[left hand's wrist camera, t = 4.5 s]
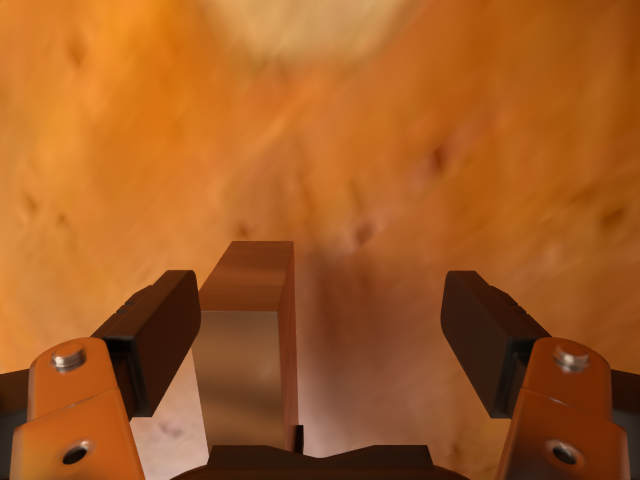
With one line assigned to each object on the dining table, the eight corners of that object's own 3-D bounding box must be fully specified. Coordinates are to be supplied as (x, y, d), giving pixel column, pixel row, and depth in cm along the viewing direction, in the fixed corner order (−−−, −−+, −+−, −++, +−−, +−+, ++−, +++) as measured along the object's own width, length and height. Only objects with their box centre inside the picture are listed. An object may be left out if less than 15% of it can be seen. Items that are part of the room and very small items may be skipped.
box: (232, 240, 33) (184, 310, 22) (293, 241, 33) (278, 311, 22) (250, 434, 42) (224, 553, 31) (298, 434, 42) (290, 554, 31)
